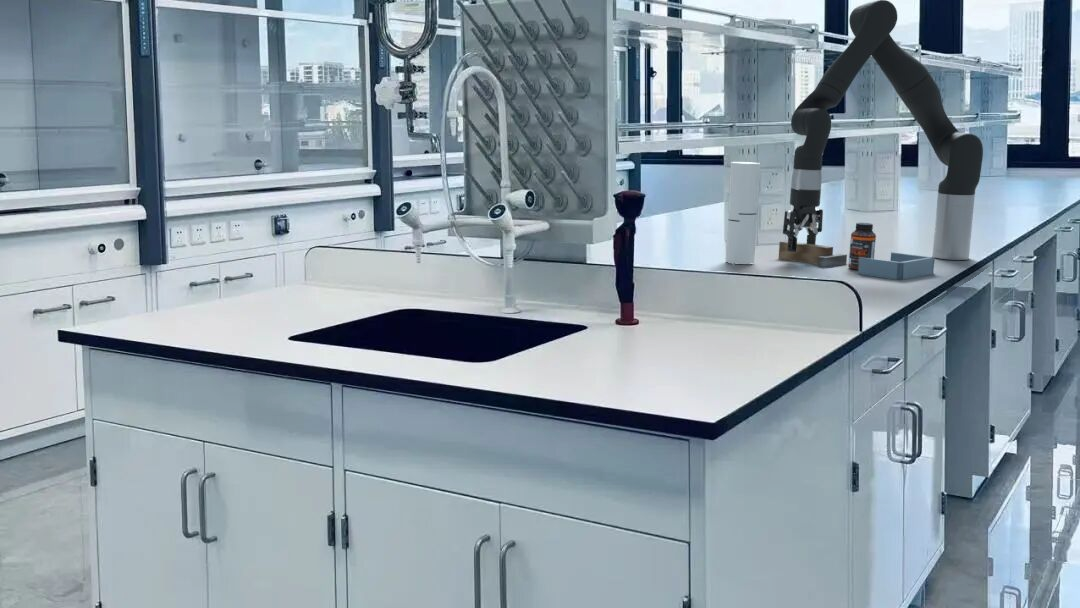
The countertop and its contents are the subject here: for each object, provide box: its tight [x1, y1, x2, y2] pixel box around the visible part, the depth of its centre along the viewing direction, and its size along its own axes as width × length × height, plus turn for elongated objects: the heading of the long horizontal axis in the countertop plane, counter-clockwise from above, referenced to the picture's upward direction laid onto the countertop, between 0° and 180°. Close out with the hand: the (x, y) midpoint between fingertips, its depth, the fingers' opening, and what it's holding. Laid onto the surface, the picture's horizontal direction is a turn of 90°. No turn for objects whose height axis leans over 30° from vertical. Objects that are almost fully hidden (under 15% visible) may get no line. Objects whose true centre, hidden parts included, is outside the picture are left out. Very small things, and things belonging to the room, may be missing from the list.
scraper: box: [778, 240, 848, 268], centre depth 286 cm, size 16×10×4 cm, turn 44°
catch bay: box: [857, 251, 936, 281], centre depth 269 cm, size 11×16×4 cm
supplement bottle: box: [848, 222, 877, 271], centre depth 275 cm, size 6×6×11 cm
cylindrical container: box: [725, 161, 761, 264], centre depth 279 cm, size 7×7×25 cm
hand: (801, 250), depth 288 cm, fingers open, 8 cm apart
